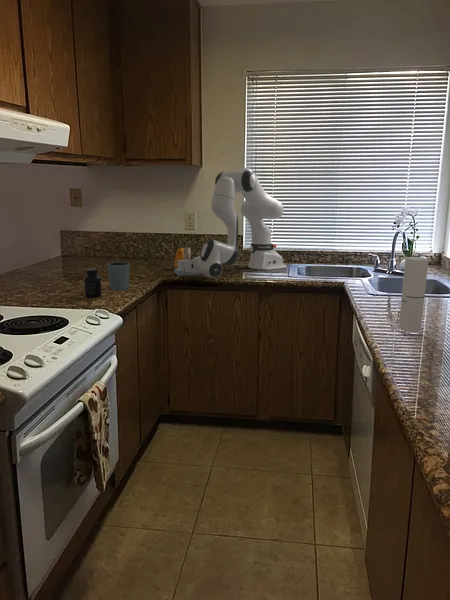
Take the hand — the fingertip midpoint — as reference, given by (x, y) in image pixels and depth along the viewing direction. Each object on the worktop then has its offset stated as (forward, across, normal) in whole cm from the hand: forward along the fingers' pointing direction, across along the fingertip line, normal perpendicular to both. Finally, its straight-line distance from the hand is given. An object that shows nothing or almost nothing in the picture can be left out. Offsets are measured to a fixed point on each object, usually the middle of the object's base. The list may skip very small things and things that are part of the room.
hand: (191, 260), depth 260 cm
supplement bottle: (-26, +58, +8) cm, 64 cm away
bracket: (+20, -5, +8) cm, 22 cm away
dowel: (+5, 0, +8) cm, 9 cm away
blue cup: (-16, +43, +8) cm, 47 cm away
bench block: (+5, 0, +8) cm, 9 cm away
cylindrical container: (-123, -27, +8) cm, 126 cm away
